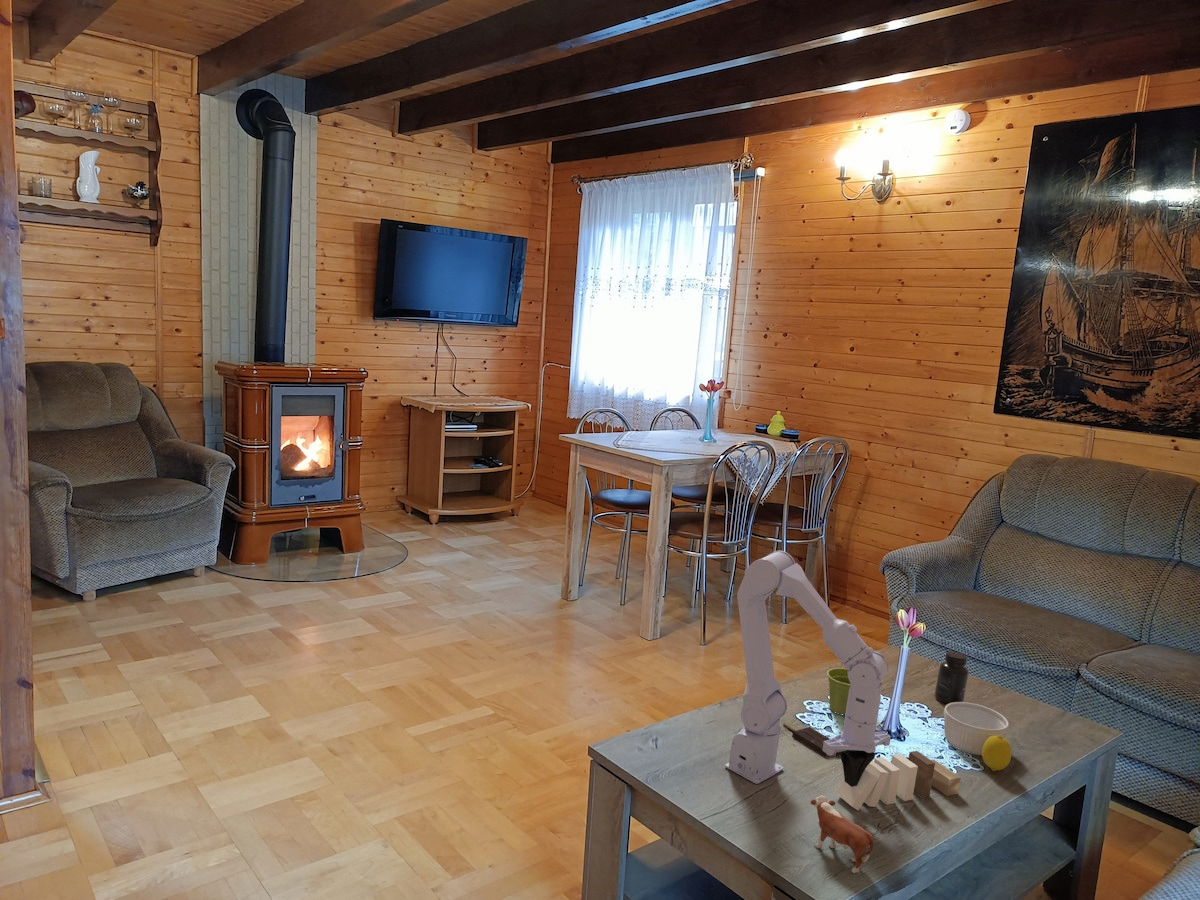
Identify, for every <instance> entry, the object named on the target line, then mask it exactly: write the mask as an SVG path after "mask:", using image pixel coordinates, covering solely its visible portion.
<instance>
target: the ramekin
mask: <svg viewBox="0 0 1200 900" xmlns="http://www.w3.org/2000/svg"><path fill="white" fill-rule="evenodd" d="M943 716H944V720H943V721H944V725H943V726H944V729H943V732H944V733H943V734H944V736H945V738H946V740H947V742H948V741H949V742H950V743H951V744H952V745H951V744H950V743H949V742H948V743H949V744H950V745H951V746H953V745H954V746H955V747H954V746H953V747H954V748H956V747H957V748H959V749H961V750H963V751H962V752H964V751H966V752H965V753H967V752H968V753H967V754H970V753H971V755H974V754H975V755H974V756H980V755H981V757H982V749H983V745H984V743H985V741H986V740H987V739H988V738H989V737H991V736H998V735H1001V736H1002V737H1003V738H1005V737H1006V733H1007V732H1008V730H1009V721H1008V719H1007V718H1006V717H1005V716H1004V715H1002V714H1001V713H999V712H997V710H995V709H992V708H989V707H987V706H984V705H981V704H978V703H972V702H966V701H964V702H954V703H950V704H948V705H947V704H945V706H944V709H943ZM957 748H956V749H957ZM959 749H958V750H959ZM961 750H960V751H961Z"/></svg>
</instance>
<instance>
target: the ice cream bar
mask: <svg viewBox="0 0 1200 900" xmlns="http://www.w3.org/2000/svg"><path fill="white" fill-rule="evenodd" d="M782 725H783V726H784V727H786V728H788V729H789V730H791V731H792V735H791V737H792V738H793V739H795V740H797V741H798V742H800V743H801V744H804V745H805V746H807V747H808V748H810V749H811V750H813V751H815V752H816V753H818V754H819V755H820V756H823V757H825V758H827V756H829V755H828V754H826V753H825V752H824V751H823V743H824V741H827V740H830V739H831V738H829V737H827V736H825V735H824V734H822V733H821V732H819V731H818V730H816V729H814V728H812V727H810V726H809V727H805V728H800V727H798V726H797V725H796V724H793V723H792V722H790V721H786V720H785V721H783V722H782ZM832 756H835V757H839V756H840V755H839V752H836V753H833V755H832Z"/></svg>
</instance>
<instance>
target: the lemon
mask: <svg viewBox="0 0 1200 900" xmlns="http://www.w3.org/2000/svg"><path fill="white" fill-rule="evenodd" d="M981 757H982V760H983V762H984V764H985V765H986V766H987V767H988V768H990V769H991V771H993V772H996V771H1000V770H1003V769H1005V768H1007V767H1008V766H1009V764H1010V761H1011V758H1012V748H1011V744H1010V743H1009V741H1008V740H1007V739H1006V738H1005V737H1004V738H1003V737H1002V736H1001V735H998V736H991V737H989V738H988V739H987V740H986V741H985V743H984V745H983V749H982V756H981Z"/></svg>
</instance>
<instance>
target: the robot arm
mask: <svg viewBox="0 0 1200 900" xmlns="http://www.w3.org/2000/svg"><path fill="white" fill-rule="evenodd" d="M776 589H777V591H776V592H775V595H777V596H782V597H787V598H793V599H794V600H795V602H797V604H798V605H799V606H801V608H803V610H804V611H805V612H806V613H807V614H808V616H810V618H812V620H813V622H815V623H816V624H817V625H818V626H819V628H820V629H821V630H822V640H823V642H824V643H825V644H826V645H827V647H828V648H829V649H830V650H831V651H832V653H833V654H834V655H835V656H836V658H837V659H838V660H839V661H840V662H841V664H842V665H843V666H844V668H845V669H848V670H849V671H848V679H849V681H850V683H851V685H850V690H849V694H848V701H847V707H846V714H845V716H844V722H843V728H842V732H841V733H839V734H837V735H835V736H834V737H832V738H829V739H830V740H827V741H824V743H823V751H824V752H825V753H826V754H828V755H827V756H834V755H833V753H836V752H839V755H838V756H839V757H840V760H841V763H842V769H843V780H844V779H845V782H846V783H847V784H848V785H850V786H851V787H853V786H857V784H858V782H859V780H860V778H861V776H862V774H863V772H864V770H865V769H866V767H867V766H868V765H869V763H870V762H871V761H873V760H874V759H875V758H876V753H875V752H876V749H877V747H879V746H882V745H883V746H884V747H889V746H890V744H891V743H890V742H891V738H892V736H891V735H890V734H889V733H887V732H885V731H876V729H877V725H878V718H879V710H880V706H881V699H882V697H881V695H882V688H883V683H882V682H883V681H884V680H885V678H886V677H887V675H888V672H889V664H888V662H887V660H886V659H885V657H884V655H883V654H882V653H880V652H878V651H876V650H874V649H873V648H872V646H870V647H869V646H868V645H867V644H866V643H867V642H866V643H865V640H864V639H862V637H861V636H860V635H859V634H858V633H857V631H858V628H857V626H855V624H850V623H849V622H848V621H847V620H845V619H841V618H840V619H839V618H837V617H836V615H835V614H834V613H833V611H832V610H831V609H830V608H829V605H828V604H827V603H826V602H825V601H824V599H823V598H822V596H820V593H818V591H817V590H816V588H815V586H813V585H812V583H811V582H810V580H809V579H808V577H807V575H806V573H805V572H804V569H803V568H802V566H801V565H800V564H799V563H798V562H796V561H795V559H794V558H793V556H792V555H791V554H790V553H788V552H786V551H783V550H774V551H772V552H771V553H769V554H767V555H766V556H764V557H762V558H758V559H757V560H754V561H753V562H752V563H751V564H750V565H749V566H747V567H746V568H745V569H744V575H743V578H742V580H741V583H740V586H739V588H738V590H737V593H736V594H737V595H736V596H737V597H736V599H737V605H738V613H739V621H740V631H741V638H742V647H743V653H744V662H745V670H746V671H745V672H746V679H747V681H746V685H745V688H744V692H743V694H742V700H743V704H742V708H741V711H740V719H741V722H742V723H743V724H742V728H741V730H740V731H739V732H738V733H737V734H736V735H735V736H733V738H732V741H731V747H730V754H729V762H727V763H725V765H724V767H725V768H726V769H728V770H730V771H732V772H734V773H735V774H737V775H739V776H741V777H743V778H744V779H746V780H748V781H750V782H752V783H754V784H756V785H758V784H761V783H762V782H764V781H766V780H767V779H770V778H771V777H773V776H775V775H776V774H778V773H780V772H782V771H784V766H783V765H781V764H779V763H777V755H778V749H779V747H778V746H779V740H780V733H781V724H780V723H781V721H780V720H781V718H782V717H783V716H784V715H785V714H786V713H787V711H788V710H787V709H788V702H787V699H786V696H785V695H784V694H783V691H782V687H781V683H780V681H779V680H778V679H776V677H775V671H774V670H775V669H774V661H773V654H772V647H771V638H770V630H769V623H768V622H769V621H768V612H767V604H766V599H767V598H769V596H771V594H772V593H773V592H774V591H775V590H776Z"/></svg>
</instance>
